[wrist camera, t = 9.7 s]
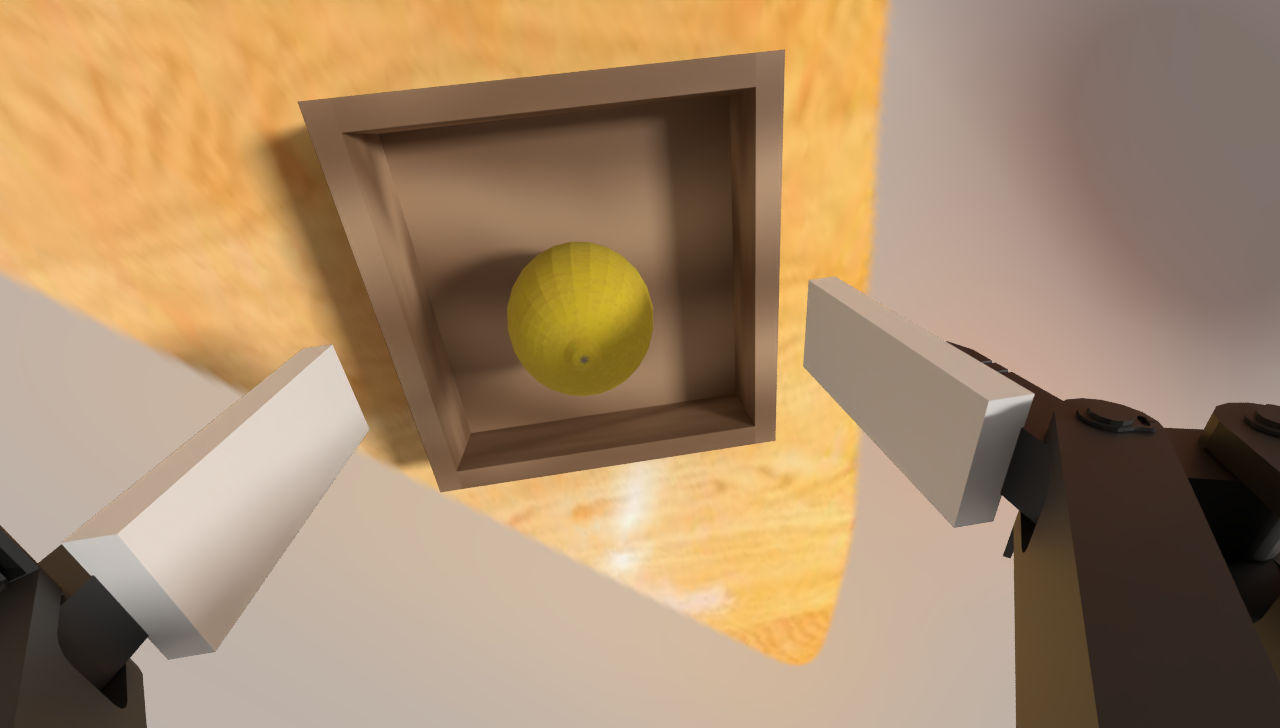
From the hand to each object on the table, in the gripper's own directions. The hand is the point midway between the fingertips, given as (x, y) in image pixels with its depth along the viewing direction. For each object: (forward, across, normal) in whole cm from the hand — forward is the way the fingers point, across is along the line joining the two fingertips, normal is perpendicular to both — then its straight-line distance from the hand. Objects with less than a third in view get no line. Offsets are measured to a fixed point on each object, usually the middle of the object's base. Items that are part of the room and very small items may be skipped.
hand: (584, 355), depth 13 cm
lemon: (+9, 0, -1) cm, 9 cm away
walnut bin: (+10, 0, -1) cm, 10 cm away
